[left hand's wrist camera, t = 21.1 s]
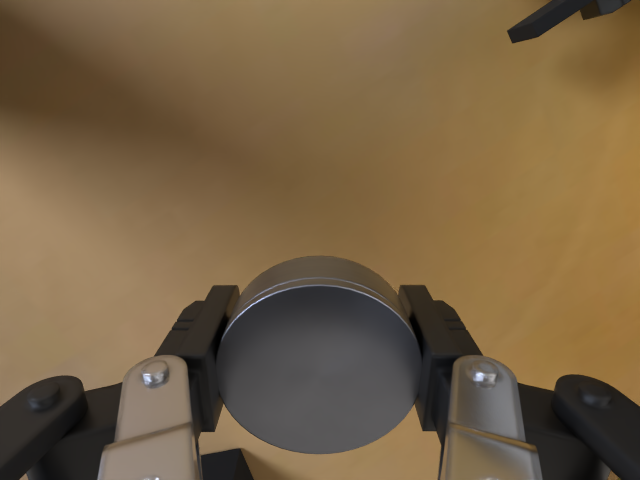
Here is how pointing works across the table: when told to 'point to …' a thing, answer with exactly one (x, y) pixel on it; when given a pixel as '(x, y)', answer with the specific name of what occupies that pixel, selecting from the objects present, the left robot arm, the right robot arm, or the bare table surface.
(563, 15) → the right robot arm
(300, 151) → the table surface
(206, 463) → the cardboard box
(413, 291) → the left robot arm
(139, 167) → the table surface
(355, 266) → the lid
